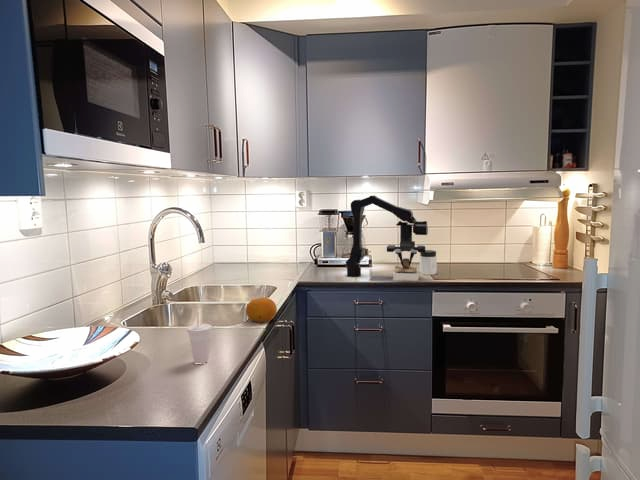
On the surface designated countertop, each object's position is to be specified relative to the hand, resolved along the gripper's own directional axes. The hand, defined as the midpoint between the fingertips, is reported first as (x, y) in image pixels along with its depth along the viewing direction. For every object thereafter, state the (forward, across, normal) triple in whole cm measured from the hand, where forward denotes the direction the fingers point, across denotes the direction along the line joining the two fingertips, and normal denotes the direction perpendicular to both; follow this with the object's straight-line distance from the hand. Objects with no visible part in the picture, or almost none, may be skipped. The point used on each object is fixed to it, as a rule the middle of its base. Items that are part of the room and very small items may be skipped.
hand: (405, 265), depth 226 cm
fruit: (+7, -48, -80) cm, 93 cm away
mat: (+7, -12, -1) cm, 14 cm away
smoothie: (+7, -51, -119) cm, 130 cm away
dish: (+7, 0, 0) cm, 7 cm away
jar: (+7, +11, +17) cm, 21 cm away
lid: (+2, 0, 0) cm, 2 cm away
